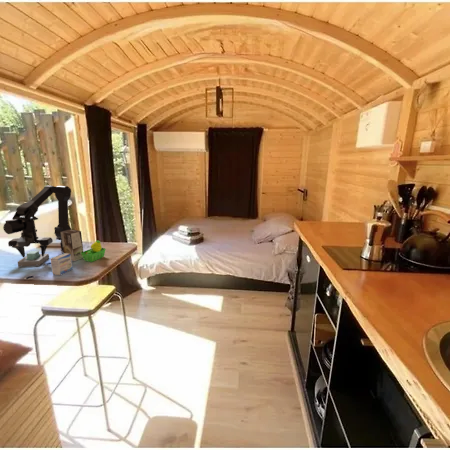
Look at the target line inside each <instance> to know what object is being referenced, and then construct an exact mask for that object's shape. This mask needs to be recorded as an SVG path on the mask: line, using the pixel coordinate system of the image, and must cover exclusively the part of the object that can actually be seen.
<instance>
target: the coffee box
mask: <svg viewBox="0 0 450 450" xmlns="http://www.w3.org/2000/svg"><path fill="white" fill-rule="evenodd" d="M82 236H83V235H82V231H81V230H78V229H77V230H76V229H73V228H71V229H70V230H66V231H62V232H61V239H62V245H63V251H62V252H63V253H68V254H70V255H71V262H72V261H73V262H77V261H79V260H82V259H84V258H83V256H82V254H81V252H84V244H83V237H82Z"/></svg>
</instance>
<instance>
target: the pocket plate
mask: <svg viewBox="0 0 450 450" xmlns="http://www.w3.org/2000/svg"><path fill="white" fill-rule="evenodd" d="M39 254H40V257H39V258H38V259H34V260H26V259H27V255H25V257H22V258H21V259H19V260H18V261H17V266H18V267H31V266H41V265H42V264H44V263H45V262H46V261H47V260H49V259H50V254H49V253H45V254H44V256H43V257H42V253H39Z"/></svg>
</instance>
